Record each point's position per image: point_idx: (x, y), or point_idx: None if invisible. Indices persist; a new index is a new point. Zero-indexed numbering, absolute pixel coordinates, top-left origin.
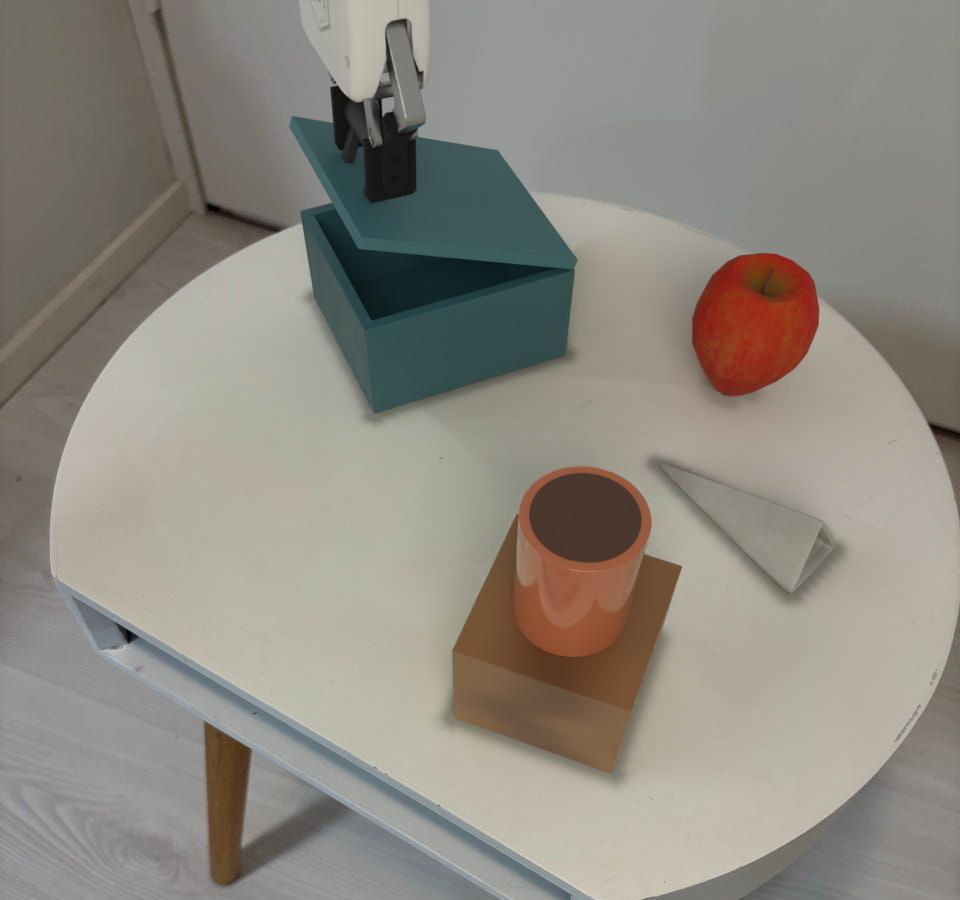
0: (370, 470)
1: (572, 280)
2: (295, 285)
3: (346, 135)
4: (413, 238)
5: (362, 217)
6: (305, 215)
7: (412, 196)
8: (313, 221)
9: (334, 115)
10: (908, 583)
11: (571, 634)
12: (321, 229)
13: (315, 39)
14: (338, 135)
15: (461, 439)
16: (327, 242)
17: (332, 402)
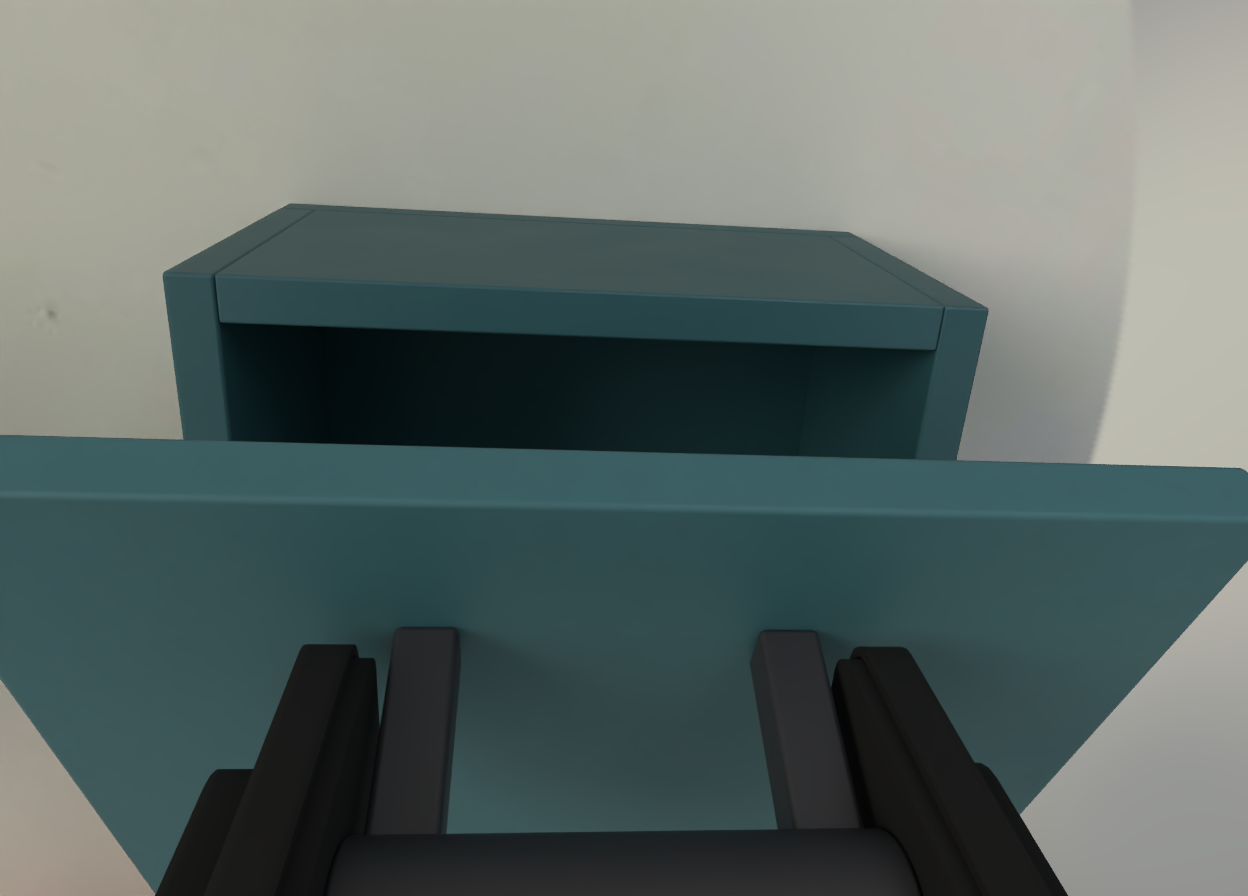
0: (55, 95)
1: None
2: (932, 198)
3: (856, 745)
4: (62, 710)
5: (148, 559)
6: (948, 317)
7: (492, 782)
8: (897, 333)
9: (945, 795)
10: None
11: None
12: (836, 345)
13: None
14: (883, 707)
15: (110, 395)
16: (747, 337)
17: (386, 101)
